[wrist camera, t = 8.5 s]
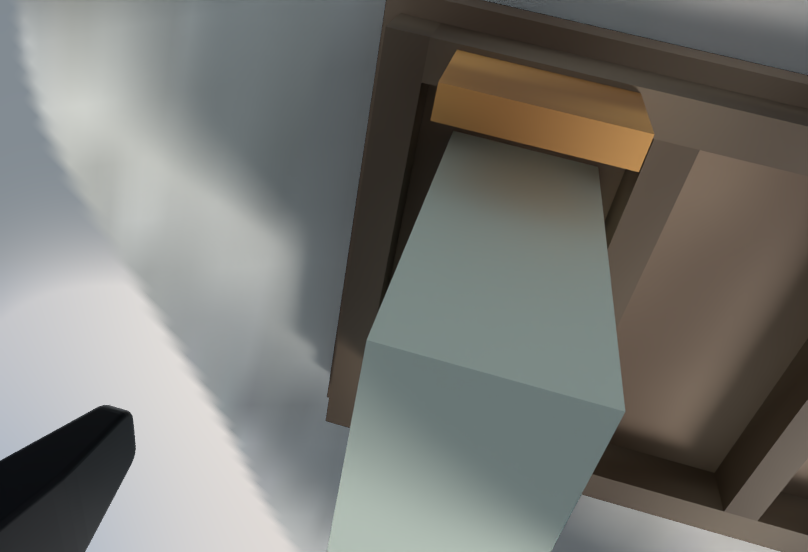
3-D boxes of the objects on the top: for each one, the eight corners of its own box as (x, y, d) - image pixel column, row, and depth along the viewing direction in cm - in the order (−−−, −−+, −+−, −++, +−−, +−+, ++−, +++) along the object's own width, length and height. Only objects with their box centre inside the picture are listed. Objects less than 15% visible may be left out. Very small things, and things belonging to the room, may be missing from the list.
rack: (1292, 187, 11) (1589, 319, 8) (914, 541, 17) (995, 699, 14) (397, -20, 13) (338, 22, 9) (335, 378, 19) (286, 488, 15)
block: (598, 167, 13) (625, 411, 7) (516, 381, 16) (490, 665, 11) (452, 131, 13) (366, 339, 7) (402, 349, 17) (315, 610, 11)
